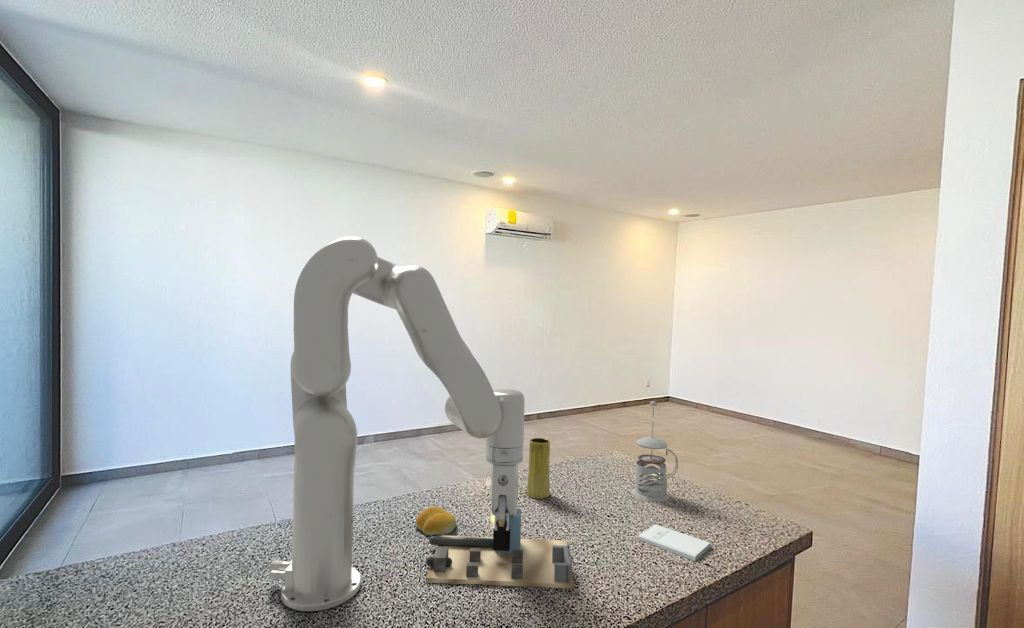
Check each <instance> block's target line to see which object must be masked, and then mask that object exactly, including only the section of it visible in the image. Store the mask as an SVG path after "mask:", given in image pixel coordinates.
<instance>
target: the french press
mask: <svg viewBox="0 0 1024 628" xmlns="http://www.w3.org/2000/svg"><path fill="white" fill-rule="evenodd" d="M649 406H651V407H652V417H654V412H655V411H654V408H655V407H657V406H658V404H657V401H653V400H651V401H650V403H649ZM651 434H652V435H651V436H646V437H641V438H639V439H637V440H636V444H637V445H638V446H639V447H641V448H643V449H649V450H664V449H665V455H666V456H668V455H669V452H670V453H671V454H672V455H673V456H674V458H675V466H674V468H673V471H672V472H670V473H669V474H667V465H666V463H665V462H666V459H665V457H663V456H660V455H657V454H653V451H651V452H650V453H651V454H649V453H647V454H646V453H645V454H639V455H637V459H638V461H636V467H635V468H636V469H635V470H636V471H635V472H636V474H635V488H633V490H632V491H631V494H632V495H633V496H634V497H635V498H637V499H640V500H643V501H645V502H646V501H648V502H652V503H653V502H654V503H655V502H656V503H657V502H660V503H661V502H665V501H668V500H669V499H670V495H669V494H668V492H667V489H668V488H667V485H668V479H669V478H673V476H675V474H676V473H677V471H678V469H679V460H678V457H677V455H676V454H675V452H673V451H672V450H671V449H670V448H668V446H669V444H668V443H667V442H666V441H665V440H663V439H661V438H659V437H655V436H654V422H652V429H651ZM648 465H649V466H648ZM654 465H656V466H658V467H656V466H654ZM659 467H660V468H659ZM653 474H654V475H653ZM644 476H645V477H644ZM654 479H655V480H654Z"/></svg>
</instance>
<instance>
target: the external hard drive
mask: <svg viewBox="0 0 1024 628" xmlns="http://www.w3.org/2000/svg"><path fill="white" fill-rule="evenodd" d="M637 540H638V541H641V542H643V543H646V544H649V545H652V546H653V547H656V548H660V549H662V550H664V551H667V552H670V553H673V554H675V555H677V556H680V557H682V558H686V559H689V560H690V561H693V562H697V560H698V559H699V558H700V557H702V556H703V555H704V554H705V553H706V552H707V551H709V549H711V548H712V543H711V542H709V541H706V540H703V539H700V538H696V537H694V536H691V535H688V534H685V533H682V532H679V531H677V530H673V529H671V528H667V527H664V526H662V525H659V524H653V525H651V526H650V527H648V528H647V529H646V530H644V531H642V532H640V534H638V536H637Z"/></svg>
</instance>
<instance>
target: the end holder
mask: <svg viewBox="0 0 1024 628" xmlns="http://www.w3.org/2000/svg"><path fill="white" fill-rule="evenodd" d="M552 563H555V566H554V582H570V578H571V570H572V563H571V558H570V553H569V548H568V545H567V546H560V545H553V546H552Z"/></svg>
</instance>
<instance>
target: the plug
mask: <svg viewBox="0 0 1024 628" xmlns="http://www.w3.org/2000/svg"><path fill="white" fill-rule="evenodd" d="M497 512H499V510H497ZM505 513H508V511H505ZM509 514H510V513H509ZM505 520H507V517H505ZM509 529H510V550H509V551H495V552H506V553H512V550H520V540H521V539H522V538H521V537H522V536H521V534H522V533H521V531H522V509H521V508H517V515H516V516H513V515H510V516H509ZM428 542H429V544H430V545H432V546H438V545H447V546H471V547H493V539H492V538H467V537H442V536H430V537H429V539H428Z"/></svg>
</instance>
